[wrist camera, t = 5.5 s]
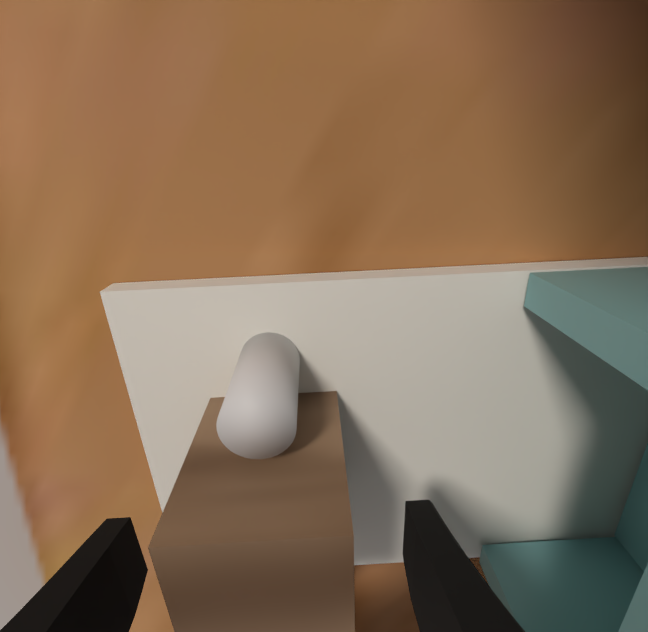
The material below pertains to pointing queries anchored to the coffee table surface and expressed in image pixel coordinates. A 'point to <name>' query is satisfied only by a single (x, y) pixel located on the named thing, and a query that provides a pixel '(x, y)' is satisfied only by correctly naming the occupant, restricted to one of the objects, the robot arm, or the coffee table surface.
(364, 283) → the base plate
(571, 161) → the coffee table surface
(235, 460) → the block
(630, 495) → the cover
